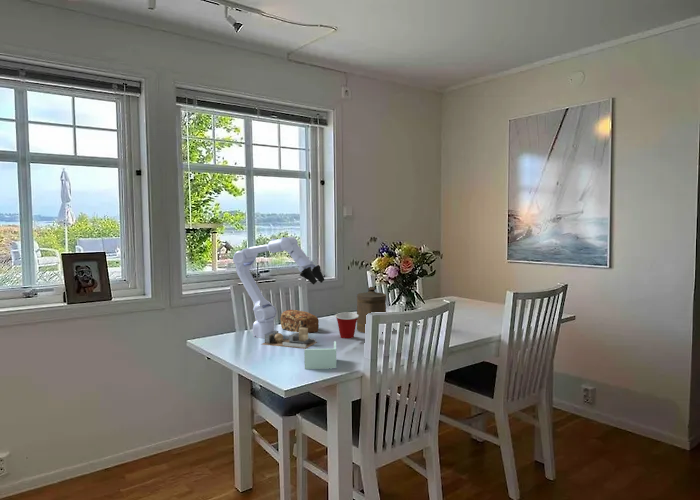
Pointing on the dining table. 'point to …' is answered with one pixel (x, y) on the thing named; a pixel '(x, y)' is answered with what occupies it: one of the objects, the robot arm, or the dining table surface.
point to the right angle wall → (320, 358)
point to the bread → (299, 321)
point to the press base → (285, 341)
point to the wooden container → (369, 306)
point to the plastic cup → (346, 324)
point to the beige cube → (300, 337)
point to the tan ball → (278, 338)
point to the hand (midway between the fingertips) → (319, 282)
